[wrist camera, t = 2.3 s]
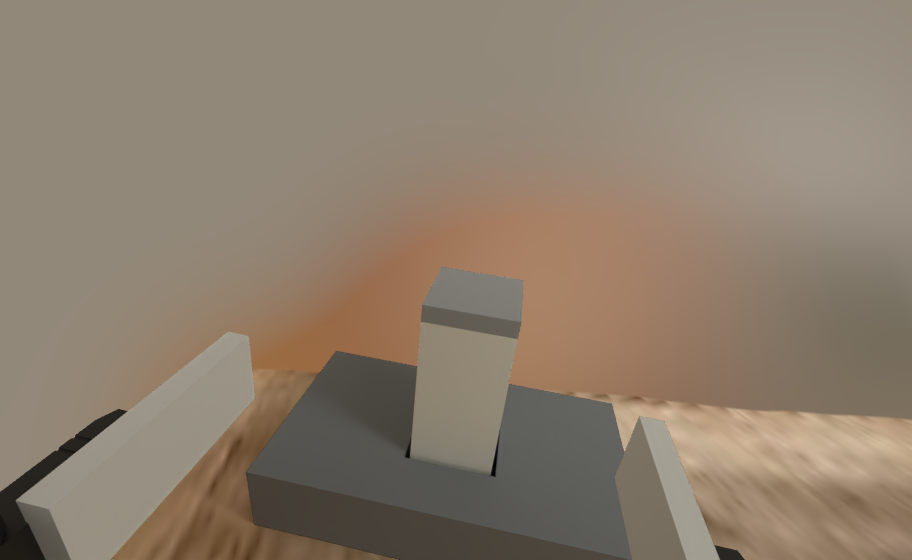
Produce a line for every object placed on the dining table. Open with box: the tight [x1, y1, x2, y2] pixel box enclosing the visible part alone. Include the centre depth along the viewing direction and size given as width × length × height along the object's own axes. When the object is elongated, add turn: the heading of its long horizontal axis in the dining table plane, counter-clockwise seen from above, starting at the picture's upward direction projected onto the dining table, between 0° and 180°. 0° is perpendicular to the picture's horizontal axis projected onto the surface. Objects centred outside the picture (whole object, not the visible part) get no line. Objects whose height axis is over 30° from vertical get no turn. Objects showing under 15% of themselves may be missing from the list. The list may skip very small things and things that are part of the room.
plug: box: [410, 267, 523, 476], centre depth 26 cm, size 5×5×14 cm
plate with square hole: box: [246, 351, 632, 560], centre depth 29 cm, size 22×12×4 cm, turn 81°
